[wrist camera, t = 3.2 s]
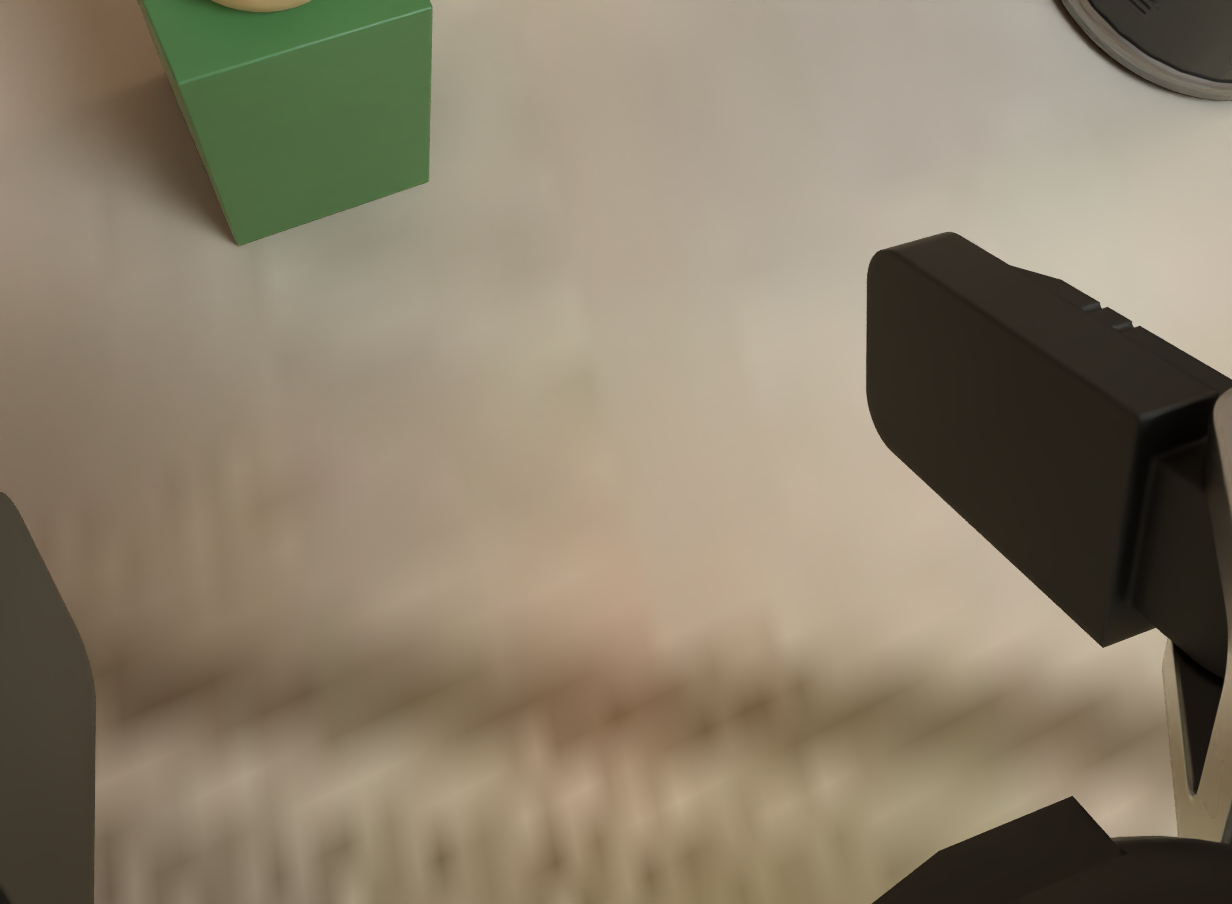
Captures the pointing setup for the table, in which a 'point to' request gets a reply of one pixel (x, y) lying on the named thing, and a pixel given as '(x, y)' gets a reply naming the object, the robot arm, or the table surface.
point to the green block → (299, 101)
